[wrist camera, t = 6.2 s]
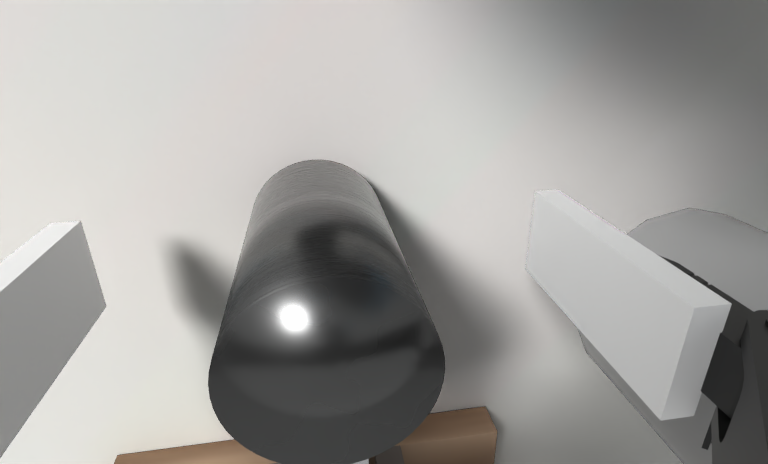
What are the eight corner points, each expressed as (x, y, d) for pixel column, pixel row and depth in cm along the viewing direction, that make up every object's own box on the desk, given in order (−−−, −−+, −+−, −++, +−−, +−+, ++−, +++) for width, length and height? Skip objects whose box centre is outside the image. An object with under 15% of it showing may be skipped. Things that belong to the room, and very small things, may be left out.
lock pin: (243, 163, 15) (187, 292, 8) (380, 156, 16) (449, 269, 8) (290, 503, 21) (284, 750, 14) (386, 488, 22) (428, 718, 15)
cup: (596, 213, 19) (872, 389, 10) (776, 201, 20) (1173, 348, 11) (564, 381, 22) (746, 628, 13) (720, 363, 23) (986, 577, 14)
